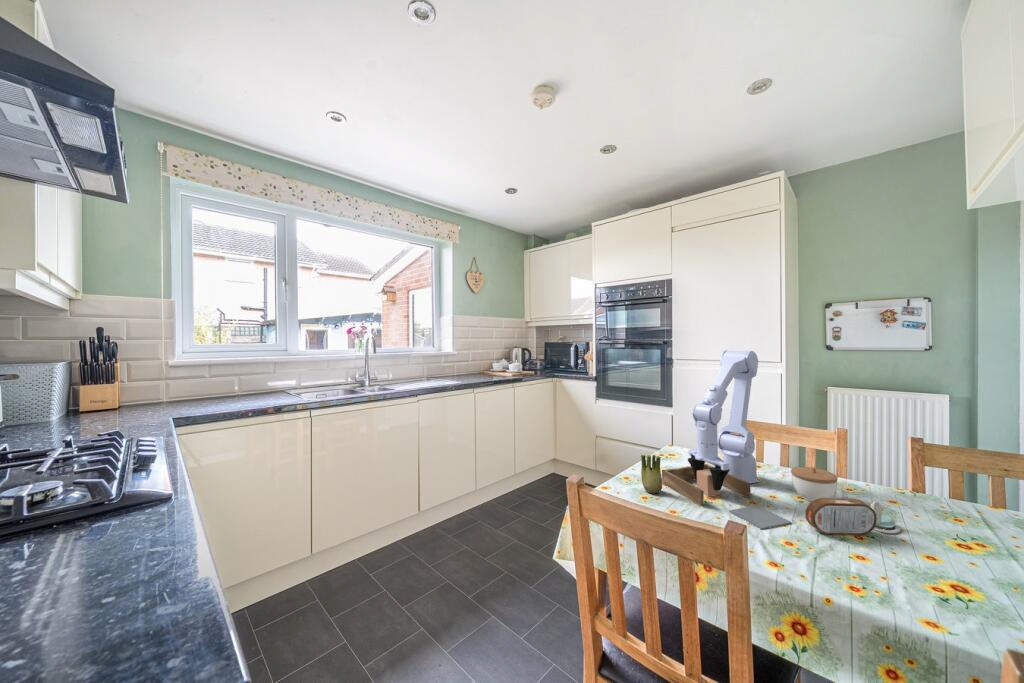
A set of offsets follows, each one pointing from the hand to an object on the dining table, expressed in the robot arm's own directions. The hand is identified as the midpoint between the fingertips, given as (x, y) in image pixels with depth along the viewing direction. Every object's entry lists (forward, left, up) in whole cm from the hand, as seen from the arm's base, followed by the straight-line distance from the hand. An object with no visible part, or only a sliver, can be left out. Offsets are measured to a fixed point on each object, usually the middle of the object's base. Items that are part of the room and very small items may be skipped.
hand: (708, 485), depth 116 cm
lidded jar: (-26, +13, -3) cm, 29 cm away
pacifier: (-25, +30, -3) cm, 39 cm away
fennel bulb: (+16, -6, -3) cm, 17 cm away
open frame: (0, -2, -2) cm, 3 cm away
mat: (-1, +17, -2) cm, 17 cm away
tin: (-13, +29, -3) cm, 32 cm away
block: (0, 0, -2) cm, 2 cm away
